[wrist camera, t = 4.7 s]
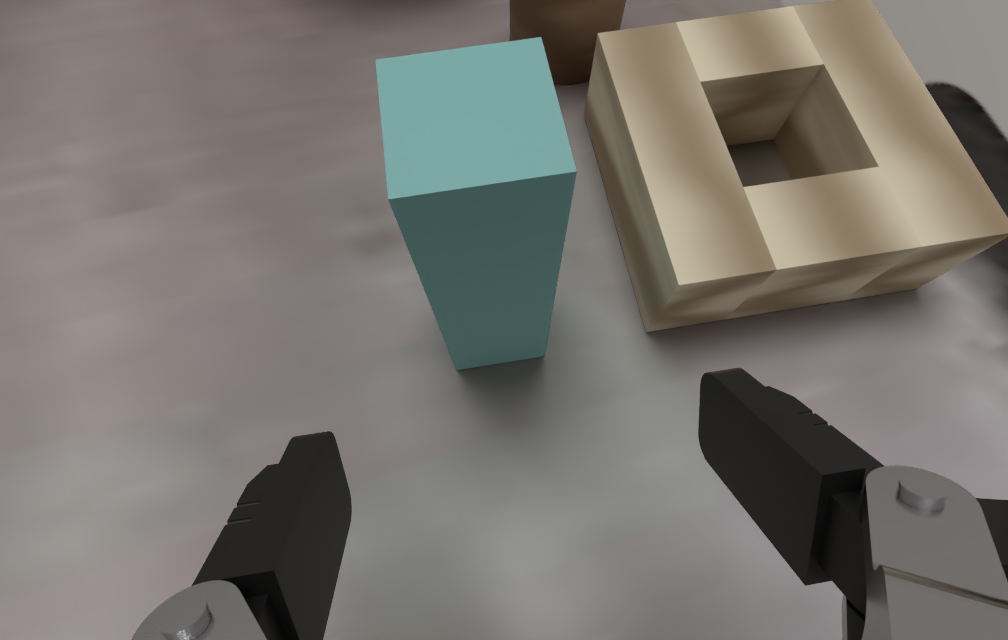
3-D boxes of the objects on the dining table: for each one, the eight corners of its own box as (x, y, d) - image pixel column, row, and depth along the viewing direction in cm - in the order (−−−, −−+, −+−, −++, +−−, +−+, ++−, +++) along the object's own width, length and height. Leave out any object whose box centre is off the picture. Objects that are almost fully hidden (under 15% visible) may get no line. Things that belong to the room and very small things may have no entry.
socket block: (646, 332, 23) (678, 285, 18) (584, 114, 28) (597, 32, 23) (917, 288, 24) (1016, 232, 19) (810, 81, 28) (868, -5, 24)
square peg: (456, 370, 23) (388, 199, 10) (446, 290, 24) (375, 59, 12) (544, 356, 23) (576, 171, 11) (528, 277, 24) (541, 36, 12)
